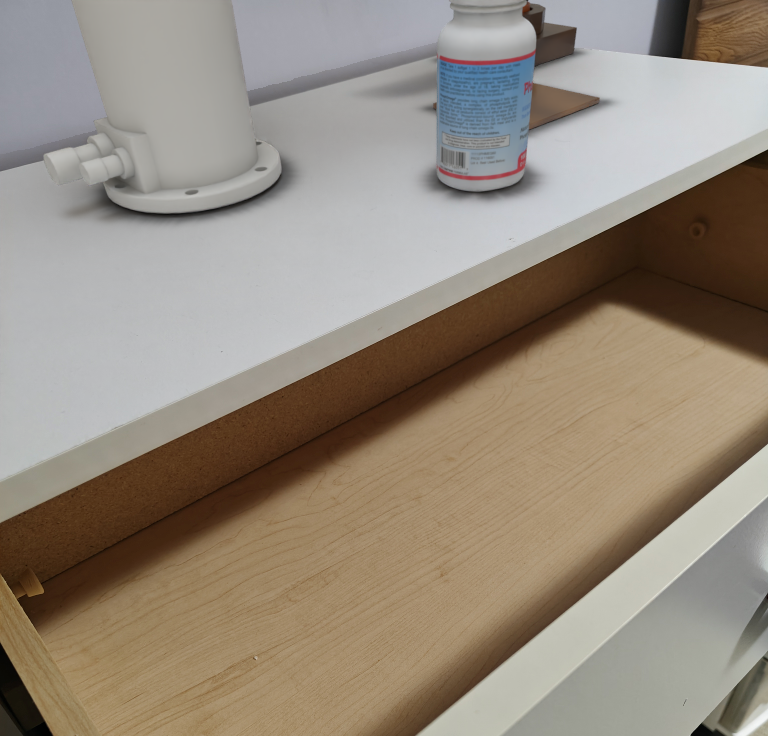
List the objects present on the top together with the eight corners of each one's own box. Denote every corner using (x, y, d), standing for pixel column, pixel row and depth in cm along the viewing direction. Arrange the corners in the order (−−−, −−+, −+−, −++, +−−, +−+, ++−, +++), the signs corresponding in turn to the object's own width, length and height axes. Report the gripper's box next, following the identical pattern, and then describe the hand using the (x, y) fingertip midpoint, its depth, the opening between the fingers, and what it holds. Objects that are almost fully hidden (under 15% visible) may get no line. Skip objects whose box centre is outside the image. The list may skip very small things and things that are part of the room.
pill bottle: (539, 186, 46) (562, -25, 38) (453, 200, 45) (459, -13, 37) (503, 157, 50) (517, -39, 42) (424, 169, 49) (423, -28, 41)
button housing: (508, 74, 65) (512, 24, 62) (442, 60, 70) (442, 12, 67) (574, 53, 69) (580, 5, 67) (507, 41, 74) (510, -5, 71)
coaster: (521, 132, 53) (521, 127, 53) (432, 108, 59) (432, 103, 59) (599, 102, 58) (600, 97, 57) (510, 82, 63) (510, 77, 63)
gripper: (432, -274, 56) (432, 1, 69) (580, -298, 48) (548, 19, 61) (494, -274, 59) (482, -11, 72) (642, -297, 51) (599, 4, 64)
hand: (512, 2), depth 67 cm, fingers closed
